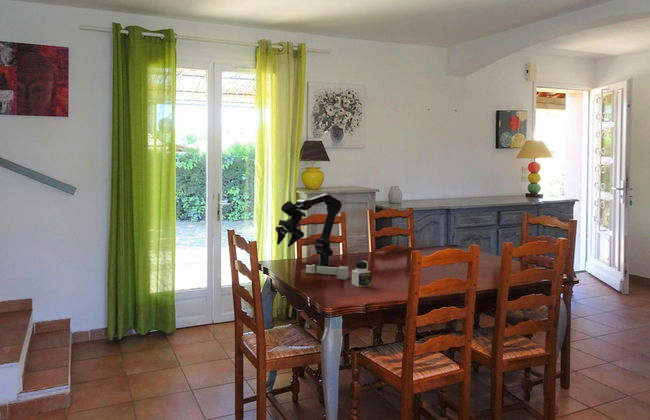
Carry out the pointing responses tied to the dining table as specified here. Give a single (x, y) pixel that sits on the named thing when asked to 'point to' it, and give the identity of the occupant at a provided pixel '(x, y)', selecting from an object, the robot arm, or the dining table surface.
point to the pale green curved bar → (327, 270)
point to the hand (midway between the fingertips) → (283, 245)
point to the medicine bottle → (361, 274)
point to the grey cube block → (342, 272)
